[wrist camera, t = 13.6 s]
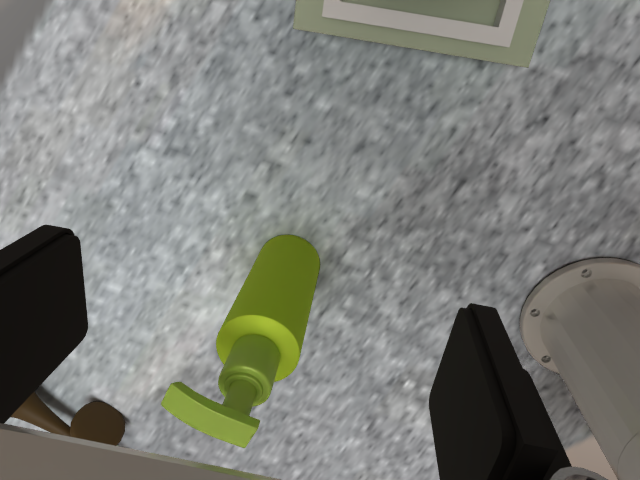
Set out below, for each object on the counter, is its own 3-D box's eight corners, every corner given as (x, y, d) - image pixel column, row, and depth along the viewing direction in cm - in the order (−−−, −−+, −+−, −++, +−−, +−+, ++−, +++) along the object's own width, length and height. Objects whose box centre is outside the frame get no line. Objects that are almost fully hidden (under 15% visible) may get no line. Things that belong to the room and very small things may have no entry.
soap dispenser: (264, 218, 41) (179, 364, 23) (331, 252, 42) (298, 420, 24) (240, 266, 43) (145, 433, 25) (303, 298, 44) (254, 482, 26)
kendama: (17, 336, 51) (158, 434, 55) (-12, 379, 55) (121, 468, 59) (-27, 372, 46) (133, 478, 50) (-56, 417, 50) (94, 512, 53)
